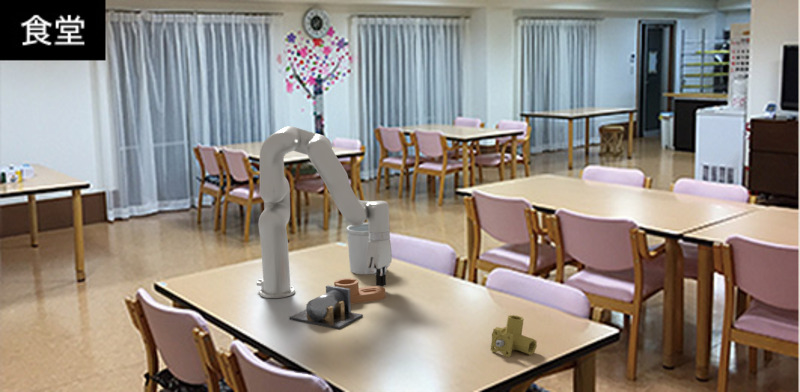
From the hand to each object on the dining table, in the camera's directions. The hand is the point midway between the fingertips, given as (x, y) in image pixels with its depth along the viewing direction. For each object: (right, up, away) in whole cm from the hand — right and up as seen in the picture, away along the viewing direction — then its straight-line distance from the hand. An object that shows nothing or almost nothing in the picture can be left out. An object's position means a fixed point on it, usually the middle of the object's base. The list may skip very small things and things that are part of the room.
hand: (381, 285), depth 286 cm
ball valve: (+38, -12, -59) cm, 72 cm away
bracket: (-7, -4, -8) cm, 11 cm away
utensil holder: (-6, +3, +28) cm, 29 cm away
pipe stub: (-17, -8, -27) cm, 33 cm away
